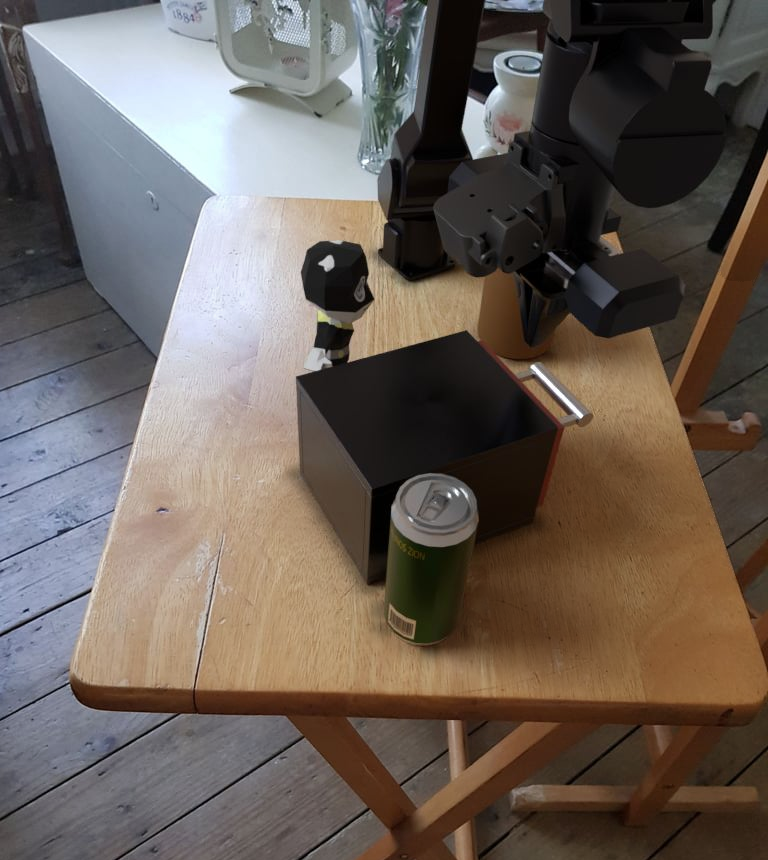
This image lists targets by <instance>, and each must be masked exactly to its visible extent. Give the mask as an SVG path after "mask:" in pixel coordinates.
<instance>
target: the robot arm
mask: <svg viewBox="0 0 768 860" xmlns="http://www.w3.org/2000/svg"><path fill="white" fill-rule="evenodd" d="M717 1H718V0H543V1H542V4H541V5H542V6H541V7H542V8H541V9H542V12H543V13H544V14H545V16H546V17H548V19H550V20H549V22H548V26H547V31H546V35H545V41H544V46H543V52H542V57H541V65H540V70H539V75H538V82H537V87H536V93H535V99H534V105H533V110H532V116H531V121H530V126H529V127H530V128H529V130H526V131H521V132H514V133H513V134H514V135H513V139H512V141H510V142H509V144H508V148H507V152H505V153H500V154H495V155H490V156H489V155H488V156H484V157H479V158H473V155H472V153H471V149H470V147H469V144H468V141H467V139H466V136H465V133H464V131H463V124H464V119H465V113H466V108H467V103H468V97H469V91H470V88H471V87H470V86H471V81H472V76H473V70H474V65H475V59H476V54H477V50H478V44H479V38H480V33H481V27H482V21H483V18H484V17H483V16H484V12H485V11H484V10H485V6H486V0H427V4H426V5H427V6H426V13H425V21H424V28H423V37H422V44H421V52H420V60H419V66H418V67H419V68H418V76H417V84H416V91H415V99H414V107H413V111H412V112H411V114H409V116H408V117H407V118H406V119H405V121H404V122H403V123H402V124H401V125H400V126H399V128H398V129H397V130H396V131H395V133H393V134H394V135H393V140H392V144H391V151H390V152H391V153H390V158H386V160H385V162H384V164H383V166H382V168H381V170H380V172H379V174H378V176H377V180H376V181H377V182H376V184H377V185H376V187H377V201H378V203H379V206H380V209H381V211H382V213H383V215H384V217H385V220H386V222H385V223H384V225H383V235H382V236H383V238H382V247H381V248H378V249H377V255H378V257H380V258H381V259H382V260H383V261H385V262H386V263H387V264H388V266H390V267H391V268H392V269H394V271H396V272H397V274H399V275H400V276H401V277H402V278H403V279H404V280H406V281H414V280H418V279H421V278H424V277H427V276H431V275H434V274H437V273H440V272H443V271H447V270H450V269H453V268H455V267H456V266H457V262H458V264H460V266H461V267H462V268H463V270H464V271H465V272H466V274H468V275H469V276H471V277H473V278H485V276H488V275H490V274H492V273H493V272H495V271H496V270H497V268H499V269H500V270H501V271H502V272H504V273H507V274H511V273H512V274H513V278H514V283H515V288H516V293H517V299H518V305H519V312H520V318H521V325H522V331H523V337H524V342H525V343H526V344H527V345H528V346H529V347H530V348H534V347H537V346H540V345H542V344H543V343H544V342H545V341H546V340H547V338H548V337H549V336H550V335H551V334H552V333H553V332H554V330H555V329H556V330H557V328H558V327H559V326H560V325H561V324H562V323H563V322H564V320H565V319H566V318H567V317H568V316H569V314H570V315H572V316H573V318H574V319H576V320H577V321H578V322H579V323H581V325H582V326H584V327H585V328H586V329H587V330H588V331H589V332H590V333H592V334H593V336H594V337H599V338H602V339H603V338H604V339H612V338H615V337H619V336H622V335H626V334H629V333H633V332H635V331H639V330H643V329H647V328H649V327H652V326H656V325H660V324H663V323H666V322H669V321H673V320H676V318H677V316H678V313H679V309H680V307H681V304H682V302H683V299H684V295H685V291H686V287H687V286H686V284H685V283H684V281H683V280H682V278H681V277H680V275H679V274H677V273H676V272H675V271H673V270H672V269H671V268H670V267H668V266H667V265H666V264H664V263H663V262H661V261H660V260H659V259H657V258H656V257H655V256H654V255H652V253H649V252H648V251H647V250H646V249H644V248H643V247H641V248H636V249H634V250H633V249H632V250H629V251H625V252H621V253H620V249H618V247H616V246H615V245H614V244H612V243H611V242H610V241H608V240H607V239H606V238H604V237H603V236H604V235H608V234H611V233H616V232H619V228H620V225H621V220H622V217H623V216H622V215H620V214H619V213H618V212H617V211H615V210H614V209H613V208H611V203H612V199H613V196H614V192H615V190H616V191H617V192H618V193H619V194H620V196H622V198H623V199H624V200H625V201H626V202H628V203H630V204H632V205H634V206H635V207H639V208H645V209H657V208H662V207H665V206H669V205H672V204H674V203H676V202H678V201H680V200H682V199H684V198H686V197H687V196H688V195H690V194H691V193H693V192H694V191H695V190H697V188H699V187H700V186H701V184H703V183H704V182H705V181H706V180H707V179H708V178H709V176H710V174H711V173H712V172H713V171H714V169H715V167H716V166H717V165H718V162H720V161H719V160H720V159H721V156H722V154H723V152H724V150H725V146H726V143H727V136H726V126H727V125H726V124H727V123H726V122H727V120H726V117H725V111H724V108H723V107H722V105H721V103H720V101H719V100H718V99H717V98H716V97H715V96H714V95H713V94H712V93H711V92H710V91H708V90H707V88H706V86H707V83H708V80H709V77H710V74H711V70H712V60H711V59H710V58H708V57H707V56H706V55H705V54H704V53H702V52H700V51H698V50H693V49H690V48H688V47H687V46H686V45H685V44H683V40H708V39H709V38H710V37H711V36H712V33H713V29H714V16H713V15H714V13H713V11H714V9H713V5H714V4H715V3H716V2H717Z"/></svg>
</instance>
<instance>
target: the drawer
mask: <svg viewBox="0 0 768 860" xmlns="http://www.w3.org/2000/svg"><path fill="white" fill-rule="evenodd" d="M477 342H478V343H479V344H480V345H481V346H482V347H483V348H484V349H485V350H486V351H487V352H488V353H489V354H490V355H491V356H492V357H493V359H494V360H495V361H496V362H497V363H498V364H499V365H500V366H501V367H502V368H503V369H504V370H505V371H506V372H507V373H508V374H509V376H510V377H511V378H512V379H513V380H514V381H515V382H516V383H517V384H518V385H519V386H520V387H521V388H522V389H523V390H524V391H525V392H526V394H527V395H528V396H529V397H530V398H531V399H532V400H533V401H534V402H535V403H536V404H537V405H538V406H539V407H540V408H541V409H542V411H543V412H544V413H545V414H546V415H547V416H548V417H549V418H550V419H551V420H552V421H553V422H554V423H555V424H556V425H557V426H558V431H557V434H556V438H555V442H554V446H553V449H552V453H551V457H550V460H549V464H548V468H547V472H546V475H545V479H544V483H543V486H542V490H541V494H540V497H539V501H538V505H537V508H539V507H542V506H544V504H545V500H546V496H547V492H548V489H549V485H550V481H551V477H552V474H553V471H554V467H555V463H556V459H557V456H558V452H559V449H560V446H561V441H562V439H563V434H564V430H565V428H567V427H570V426H573V425H577V426H578V427H579V428H585V427H587V426H588V425H590V424H591V423H592V421H593V419H594V413H592V411H590V410H589V408H588V407H586V406H585V405H584V404H583V403H582V401H580V400H579V399H578V398H577V396H576V395H575V394H573V393H572V392H571V390H569V388H568V387H566V385H564V383H562V381H561V380H559V379H558V378H557V376H555V374H554V373H552V371H550V369H549V368H548V367H546V365H544V364H543V362H541V361H536V362H533V364H531V365H530V366H529V368H528V370H525V371H521V372H518V373H514V372H513V371H512V370H511V369H510V368H509V367H508V366H507V364H505V363H504V362H503V360H502V359H500V357H498V355H497V354H495V353H494V352H493V351H492V350H491V349H490V348H489V347H488V346H487V345H486V344H485V343H484V342H483V341H482V340H478V341H477ZM531 380H533V381H534V382H535V383H536V384H537V386H539V387H540V388H541V389H542V390H543V391H544V392H545V393H546V394H547V395H548V397H550V398H551V399H552V401H554V402H555V404H556V405H557V406H559V408H560V409H561V410H562V411H563V412H564V413H565V414H566V416H563V417H560V418H557V417H555V415H554V414H553V413H552V412H551V411H550V410H549V409H548V408H547V407H546V406H545V404H544V403H543V402H542V401H540V399H538V397H537V396H536V395H535V394H534V393H533V392H532V391H531V390H530V389H529V388H528V387H527V386H526V385H525V383H526V382H528V381H531Z"/></svg>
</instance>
